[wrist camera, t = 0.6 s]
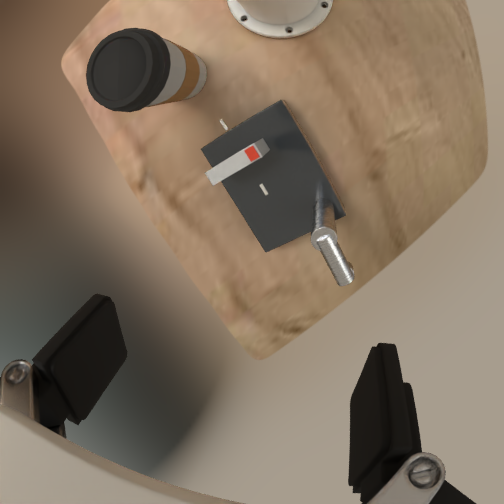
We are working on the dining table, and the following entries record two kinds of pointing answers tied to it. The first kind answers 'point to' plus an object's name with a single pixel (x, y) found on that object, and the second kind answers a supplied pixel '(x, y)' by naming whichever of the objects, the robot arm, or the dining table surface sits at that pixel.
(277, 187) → the base
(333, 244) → the spout
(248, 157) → the tap handle
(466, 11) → the dining table surface
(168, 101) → the coffee cup
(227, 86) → the dining table surface
